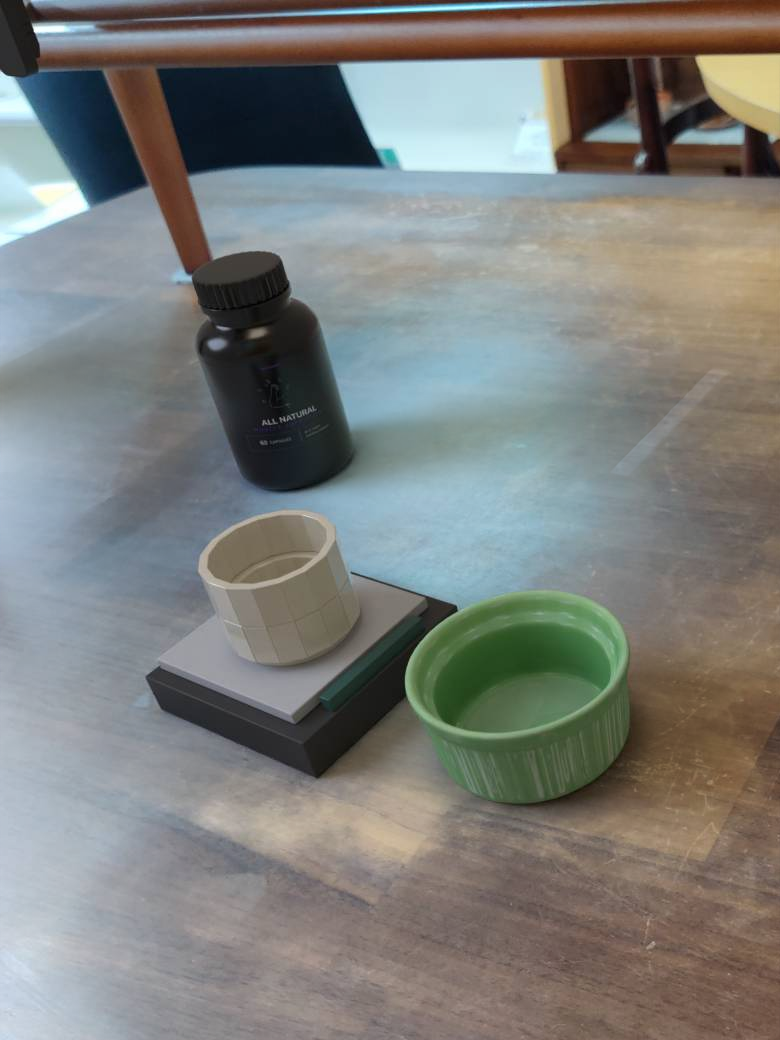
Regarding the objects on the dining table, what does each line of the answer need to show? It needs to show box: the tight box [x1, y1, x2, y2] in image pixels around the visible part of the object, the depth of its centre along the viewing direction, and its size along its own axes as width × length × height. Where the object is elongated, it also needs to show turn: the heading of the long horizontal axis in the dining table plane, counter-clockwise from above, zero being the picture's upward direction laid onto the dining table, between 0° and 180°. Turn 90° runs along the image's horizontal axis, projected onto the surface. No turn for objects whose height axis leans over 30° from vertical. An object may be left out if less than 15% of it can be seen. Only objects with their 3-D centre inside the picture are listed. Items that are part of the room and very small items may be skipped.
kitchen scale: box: [144, 570, 459, 778], centre depth 54 cm, size 10×10×3 cm
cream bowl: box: [197, 509, 360, 666], centre depth 52 cm, size 6×6×4 cm
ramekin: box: [405, 589, 631, 805], centre depth 49 cm, size 9×9×4 cm
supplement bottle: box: [191, 250, 354, 491], centre depth 67 cm, size 7×7×12 cm
